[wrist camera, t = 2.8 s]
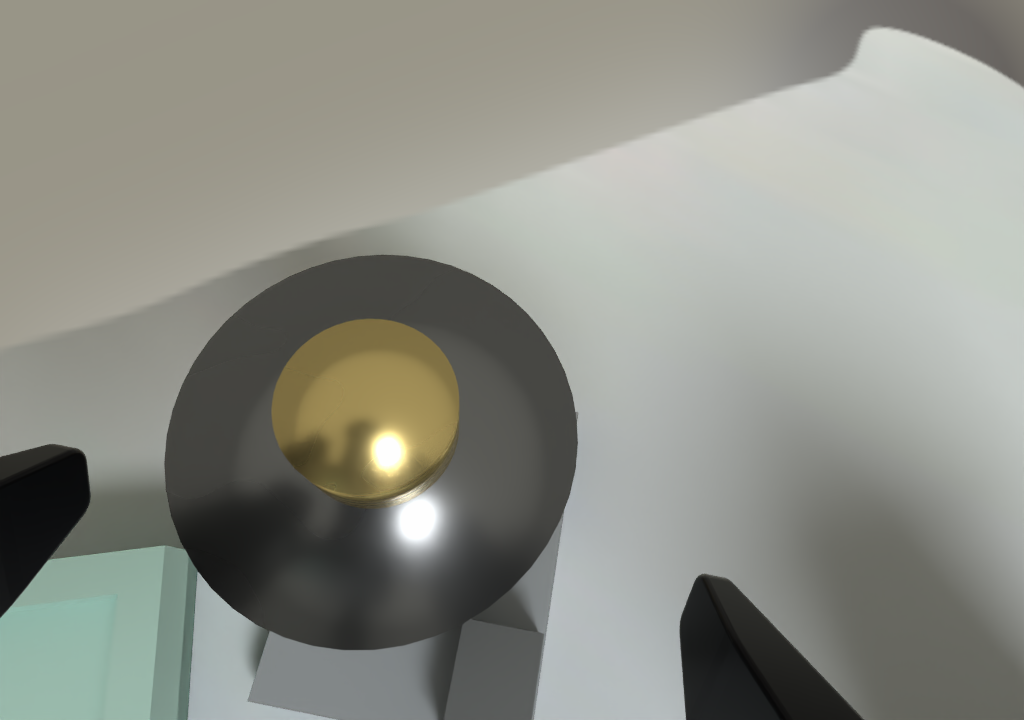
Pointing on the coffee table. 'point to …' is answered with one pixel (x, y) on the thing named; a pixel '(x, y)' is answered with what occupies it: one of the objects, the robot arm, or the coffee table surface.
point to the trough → (101, 638)
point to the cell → (371, 452)
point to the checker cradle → (425, 665)
